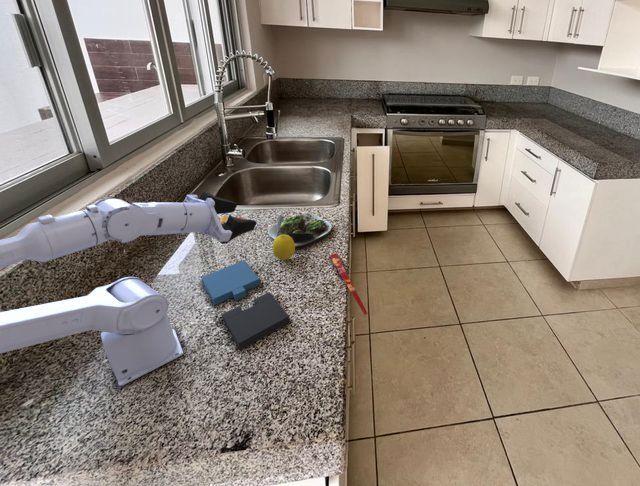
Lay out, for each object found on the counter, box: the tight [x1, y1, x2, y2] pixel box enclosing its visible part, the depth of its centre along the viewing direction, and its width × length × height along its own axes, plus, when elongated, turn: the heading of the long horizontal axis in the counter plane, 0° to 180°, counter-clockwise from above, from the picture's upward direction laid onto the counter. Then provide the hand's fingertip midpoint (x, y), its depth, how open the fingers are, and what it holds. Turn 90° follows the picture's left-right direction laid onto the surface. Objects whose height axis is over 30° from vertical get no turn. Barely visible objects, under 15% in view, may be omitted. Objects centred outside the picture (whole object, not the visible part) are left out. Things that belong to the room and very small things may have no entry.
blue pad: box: [200, 259, 261, 306], centre depth 82 cm, size 10×12×2 cm
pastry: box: [218, 215, 245, 224], centre depth 105 cm, size 9×7×4 cm
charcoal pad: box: [221, 291, 291, 351], centre depth 72 cm, size 10×10×2 cm
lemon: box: [272, 235, 296, 261], centre depth 91 cm, size 6×6×8 cm
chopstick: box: [329, 253, 368, 316], centre depth 84 cm, size 2×24×1 cm, turn 31°
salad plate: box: [267, 212, 333, 250], centre depth 104 cm, size 19×18×5 cm
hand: (244, 216), depth 75 cm, fingers open, 7 cm apart
